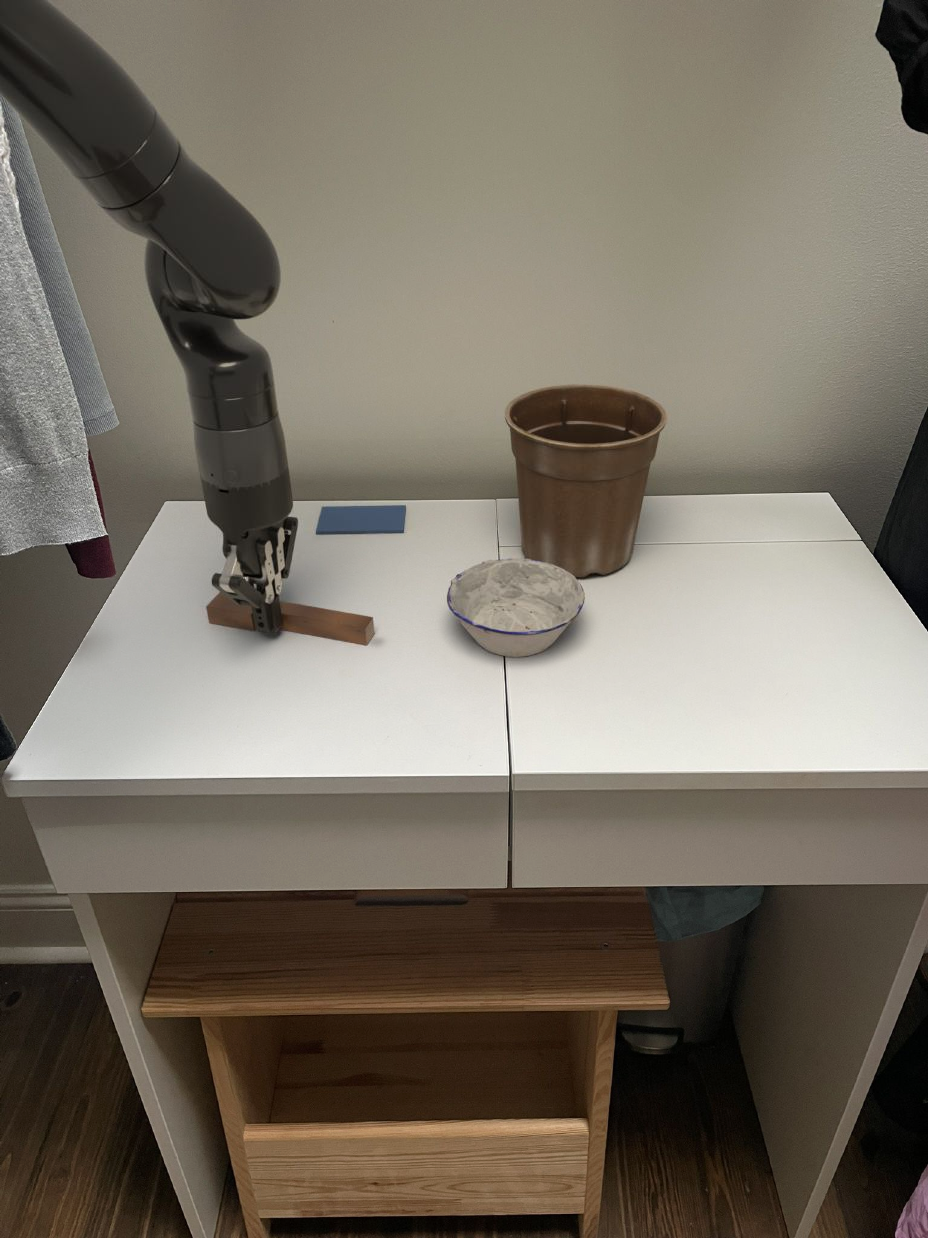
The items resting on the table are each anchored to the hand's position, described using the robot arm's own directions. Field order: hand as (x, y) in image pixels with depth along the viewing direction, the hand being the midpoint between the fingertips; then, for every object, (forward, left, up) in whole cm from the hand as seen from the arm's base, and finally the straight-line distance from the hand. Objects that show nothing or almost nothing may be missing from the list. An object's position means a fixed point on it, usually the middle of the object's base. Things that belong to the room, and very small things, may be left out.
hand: (269, 629), depth 91 cm
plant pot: (+35, -1, -1) cm, 35 cm away
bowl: (+21, -11, -1) cm, 24 cm away
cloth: (+17, +17, -1) cm, 24 cm away
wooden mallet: (+3, +1, -1) cm, 3 cm away
